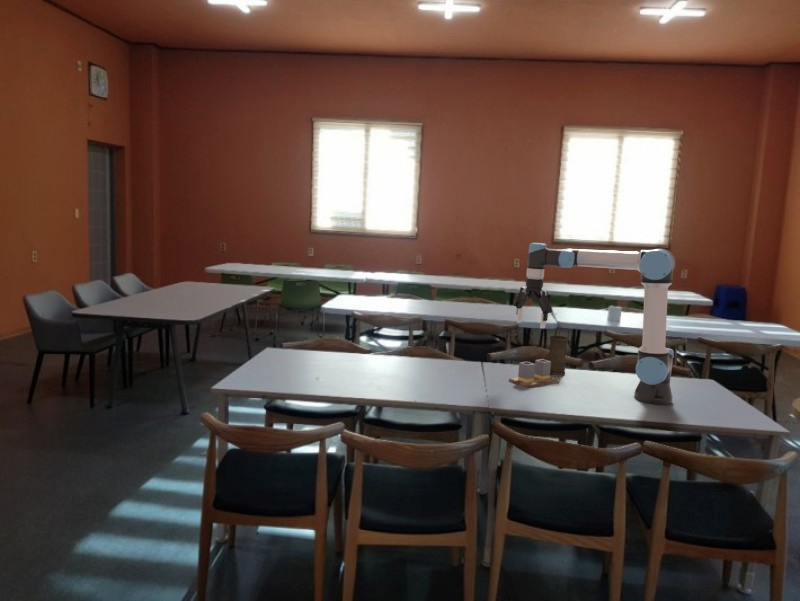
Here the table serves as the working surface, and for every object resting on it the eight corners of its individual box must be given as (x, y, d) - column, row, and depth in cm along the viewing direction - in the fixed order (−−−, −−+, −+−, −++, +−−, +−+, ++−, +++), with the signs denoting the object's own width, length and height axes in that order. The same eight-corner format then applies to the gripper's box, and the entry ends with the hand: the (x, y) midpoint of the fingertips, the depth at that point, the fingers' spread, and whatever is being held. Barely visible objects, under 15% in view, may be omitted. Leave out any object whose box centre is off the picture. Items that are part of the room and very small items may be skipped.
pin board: (558, 382, 275) (559, 369, 274) (529, 387, 263) (530, 374, 262) (537, 375, 285) (539, 363, 284) (508, 380, 273) (510, 367, 272)
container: (560, 376, 285) (564, 340, 282) (543, 373, 290) (546, 336, 288) (568, 373, 292) (571, 337, 289) (550, 369, 297) (554, 334, 295)
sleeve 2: (549, 378, 277) (551, 361, 275) (542, 379, 274) (544, 362, 272) (541, 375, 280) (542, 359, 279) (534, 376, 278) (535, 360, 276)
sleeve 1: (533, 381, 270) (535, 364, 269) (526, 382, 267) (527, 365, 266) (525, 378, 274) (526, 361, 273) (517, 379, 271) (519, 362, 270)
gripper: (563, 281, 256) (558, 329, 259) (519, 274, 276) (515, 319, 279) (551, 281, 252) (547, 331, 255) (508, 275, 271) (504, 320, 274)
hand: (530, 325), depth 267 cm, fingers open, 13 cm apart
